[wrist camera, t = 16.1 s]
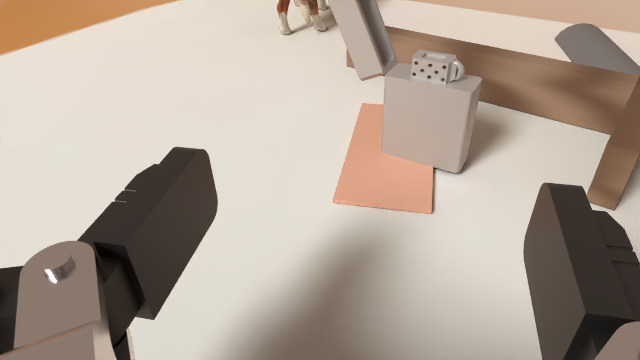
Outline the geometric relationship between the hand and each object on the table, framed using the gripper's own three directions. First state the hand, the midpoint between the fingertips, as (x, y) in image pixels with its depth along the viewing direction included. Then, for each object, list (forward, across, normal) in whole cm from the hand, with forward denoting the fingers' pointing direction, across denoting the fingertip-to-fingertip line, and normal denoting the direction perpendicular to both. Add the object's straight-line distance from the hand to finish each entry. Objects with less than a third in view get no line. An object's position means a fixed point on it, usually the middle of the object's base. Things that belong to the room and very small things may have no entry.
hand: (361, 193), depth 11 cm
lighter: (+12, 0, +6) cm, 14 cm away
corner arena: (+16, -3, +6) cm, 18 cm away
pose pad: (+12, 0, +6) cm, 14 cm away
